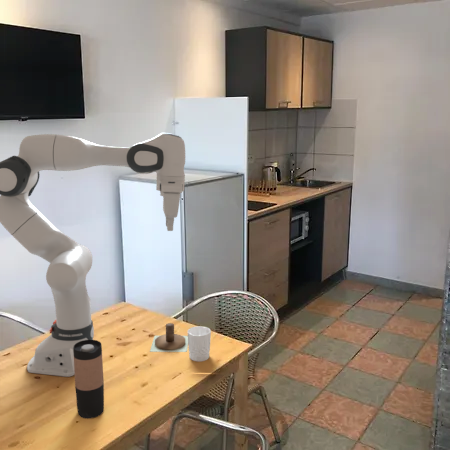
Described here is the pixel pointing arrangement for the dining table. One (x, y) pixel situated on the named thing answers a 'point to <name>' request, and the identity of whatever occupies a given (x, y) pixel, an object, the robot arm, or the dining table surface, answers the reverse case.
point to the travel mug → (89, 378)
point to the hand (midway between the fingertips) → (169, 228)
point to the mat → (155, 349)
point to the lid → (170, 339)
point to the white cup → (199, 343)
